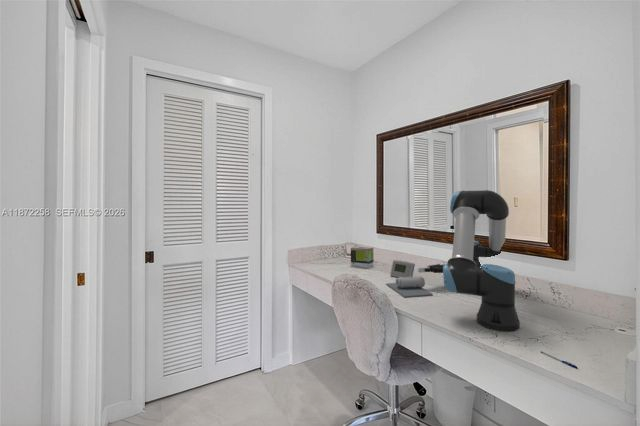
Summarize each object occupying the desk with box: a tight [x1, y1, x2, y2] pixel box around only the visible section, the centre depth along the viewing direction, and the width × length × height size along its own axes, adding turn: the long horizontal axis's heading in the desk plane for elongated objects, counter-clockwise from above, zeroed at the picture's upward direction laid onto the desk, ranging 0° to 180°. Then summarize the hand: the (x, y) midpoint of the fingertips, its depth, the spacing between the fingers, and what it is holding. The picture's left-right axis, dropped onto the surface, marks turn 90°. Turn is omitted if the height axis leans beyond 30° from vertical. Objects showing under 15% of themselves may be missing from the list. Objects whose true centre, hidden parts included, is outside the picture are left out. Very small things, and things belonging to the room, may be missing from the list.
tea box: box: [350, 245, 375, 269], centre depth 229 cm, size 15×10×15 cm, turn 58°
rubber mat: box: [385, 282, 434, 299], centre depth 169 cm, size 24×16×1 cm, turn 10°
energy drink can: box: [395, 276, 426, 288], centre depth 170 cm, size 6×6×15 cm
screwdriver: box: [539, 351, 578, 370], centre depth 94 cm, size 10×1×1 cm, turn 23°
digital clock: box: [389, 259, 416, 279], centre depth 195 cm, size 16×9×11 cm, turn 30°
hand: (418, 269), depth 169 cm, fingers closed
